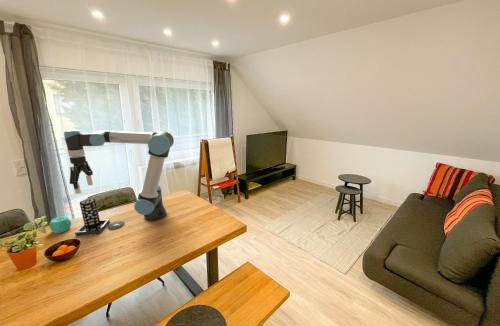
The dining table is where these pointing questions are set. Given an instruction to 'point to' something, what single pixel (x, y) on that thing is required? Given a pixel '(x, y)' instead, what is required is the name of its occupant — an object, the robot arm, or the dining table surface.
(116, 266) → the dining table surface
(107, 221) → the grey square frame
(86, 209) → the spotted tube
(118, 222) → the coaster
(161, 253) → the dining table surface
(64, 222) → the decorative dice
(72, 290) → the dining table surface
